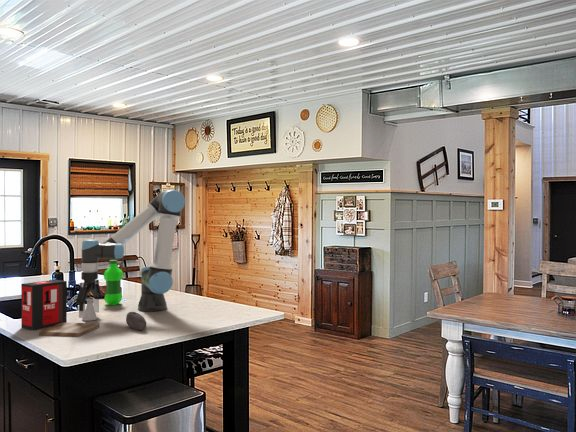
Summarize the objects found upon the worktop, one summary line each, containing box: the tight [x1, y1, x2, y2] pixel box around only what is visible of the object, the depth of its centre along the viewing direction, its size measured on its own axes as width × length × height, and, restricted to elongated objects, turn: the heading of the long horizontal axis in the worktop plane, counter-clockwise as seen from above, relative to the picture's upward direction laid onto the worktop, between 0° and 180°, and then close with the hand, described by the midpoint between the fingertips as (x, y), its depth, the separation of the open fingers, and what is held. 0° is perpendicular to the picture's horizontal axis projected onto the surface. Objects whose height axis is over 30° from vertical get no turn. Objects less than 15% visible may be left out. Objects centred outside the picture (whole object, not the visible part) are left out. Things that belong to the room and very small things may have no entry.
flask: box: [81, 298, 98, 322], centre depth 245 cm, size 7×7×10 cm
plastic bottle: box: [103, 259, 124, 306], centre depth 285 cm, size 10×10×25 cm
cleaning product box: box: [20, 279, 68, 331], centre depth 231 cm, size 16×9×20 cm, turn 148°
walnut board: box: [38, 322, 100, 337], centre depth 222 cm, size 18×18×2 cm
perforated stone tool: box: [125, 311, 147, 331], centre depth 226 cm, size 15×5×7 cm, turn 41°
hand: (89, 314), depth 245 cm, fingers open, 13 cm apart
